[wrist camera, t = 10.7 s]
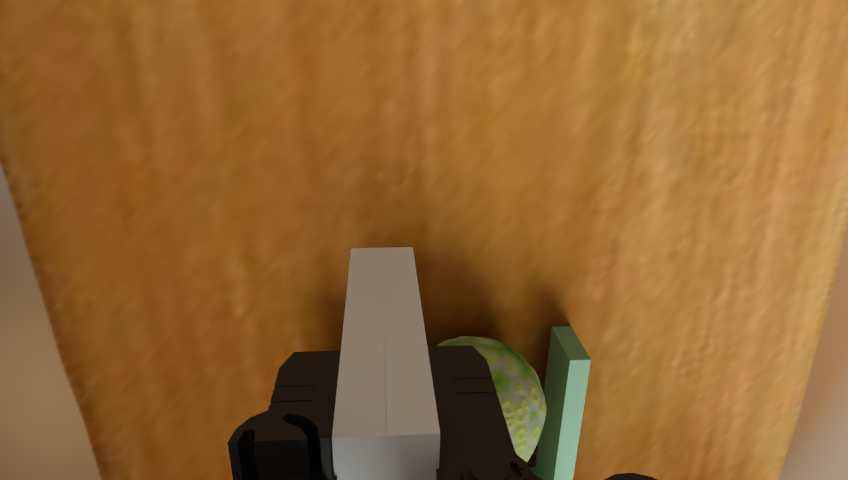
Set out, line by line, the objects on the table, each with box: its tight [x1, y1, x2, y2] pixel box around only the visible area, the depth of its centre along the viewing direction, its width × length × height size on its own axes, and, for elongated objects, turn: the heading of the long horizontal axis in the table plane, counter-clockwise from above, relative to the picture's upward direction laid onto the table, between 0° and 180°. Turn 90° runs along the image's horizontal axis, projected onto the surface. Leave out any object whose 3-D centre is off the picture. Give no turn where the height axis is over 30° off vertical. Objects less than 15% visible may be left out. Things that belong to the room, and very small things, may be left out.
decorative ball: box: [437, 336, 546, 462], centre depth 40 cm, size 10×10×10 cm
